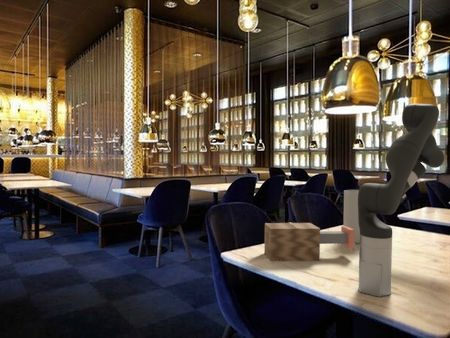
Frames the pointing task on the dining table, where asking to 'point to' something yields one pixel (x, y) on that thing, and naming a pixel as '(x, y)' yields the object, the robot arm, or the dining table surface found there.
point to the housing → (292, 242)
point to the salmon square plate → (338, 237)
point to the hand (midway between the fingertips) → (375, 206)
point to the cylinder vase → (352, 212)
